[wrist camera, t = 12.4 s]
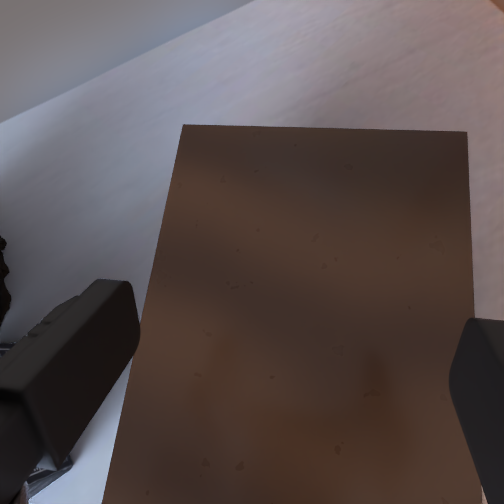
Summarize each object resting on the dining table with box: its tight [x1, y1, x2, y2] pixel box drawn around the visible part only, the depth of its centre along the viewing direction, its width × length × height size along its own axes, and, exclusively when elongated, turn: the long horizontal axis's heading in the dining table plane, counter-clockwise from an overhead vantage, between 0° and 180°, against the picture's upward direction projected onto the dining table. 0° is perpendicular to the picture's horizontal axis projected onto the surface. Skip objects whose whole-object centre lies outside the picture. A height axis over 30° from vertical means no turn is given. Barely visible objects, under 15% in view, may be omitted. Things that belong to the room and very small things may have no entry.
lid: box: [102, 124, 482, 504], centre depth 16 cm, size 18×14×1 cm
